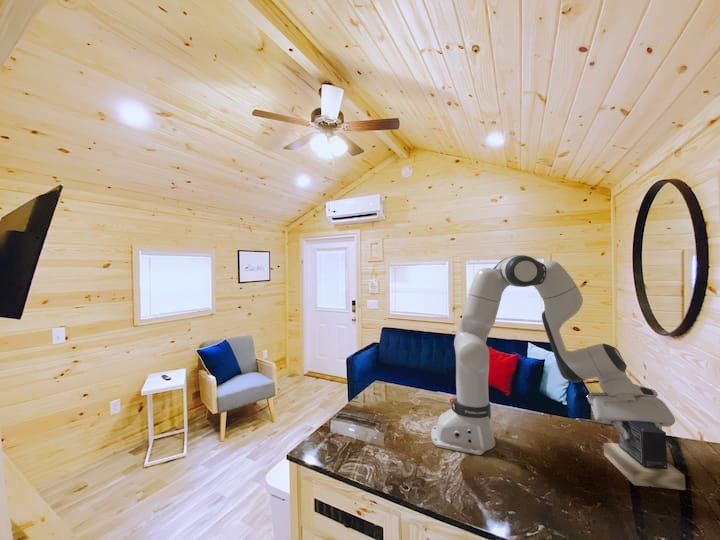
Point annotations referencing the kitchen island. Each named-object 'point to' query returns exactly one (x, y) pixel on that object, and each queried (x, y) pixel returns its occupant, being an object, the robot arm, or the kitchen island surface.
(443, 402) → the kitchen island surface
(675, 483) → the plinth
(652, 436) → the small box
